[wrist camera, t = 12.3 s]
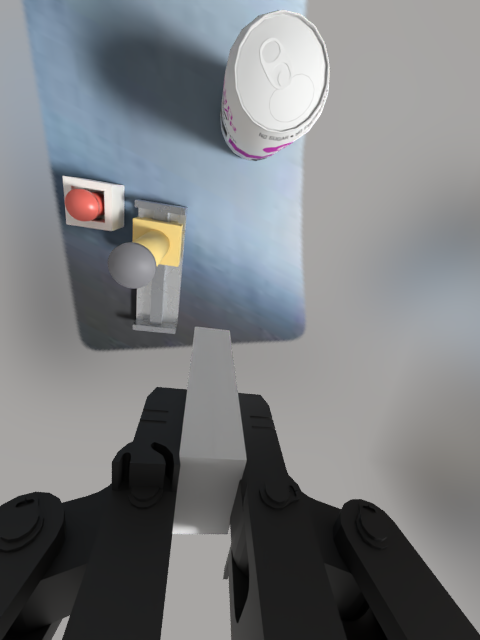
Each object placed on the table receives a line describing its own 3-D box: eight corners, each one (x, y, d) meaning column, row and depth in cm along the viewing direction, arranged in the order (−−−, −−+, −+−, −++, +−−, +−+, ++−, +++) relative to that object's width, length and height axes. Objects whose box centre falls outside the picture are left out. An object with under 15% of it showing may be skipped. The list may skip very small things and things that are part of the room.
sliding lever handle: (139, 216, 36) (95, 230, 22) (183, 223, 37) (167, 241, 23) (138, 255, 38) (97, 290, 24) (180, 261, 39) (163, 298, 25)
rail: (140, 199, 36) (134, 199, 33) (187, 207, 37) (185, 208, 34) (137, 320, 43) (132, 329, 40) (177, 325, 44) (175, 333, 41)
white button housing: (80, 177, 35) (60, 175, 30) (124, 185, 35) (111, 184, 31) (82, 219, 37) (64, 223, 32) (124, 226, 37) (112, 231, 33)
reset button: (82, 187, 33) (63, 186, 29) (111, 191, 34) (96, 191, 29) (84, 215, 34) (66, 218, 30) (111, 219, 35) (97, 223, 30)
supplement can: (298, 134, 35) (354, 98, 21) (243, 175, 36) (262, 164, 23) (265, 62, 32) (307, -35, 18) (206, 109, 33) (202, 51, 19)
